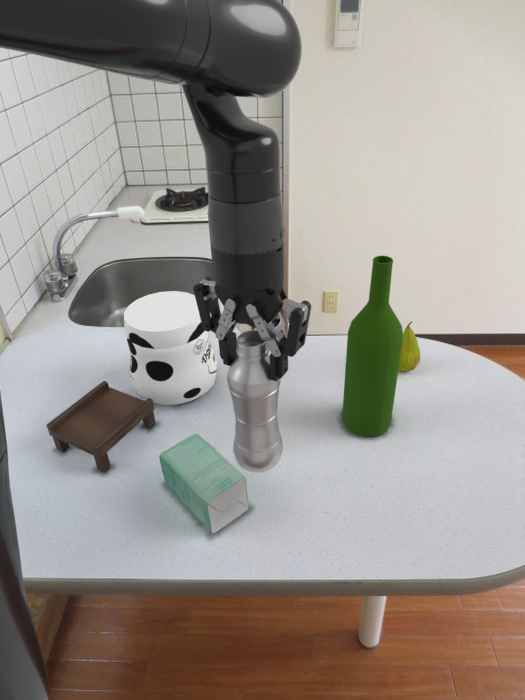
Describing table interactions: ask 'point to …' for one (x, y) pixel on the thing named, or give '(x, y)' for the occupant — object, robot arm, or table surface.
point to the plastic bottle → (254, 405)
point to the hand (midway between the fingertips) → (253, 369)
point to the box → (205, 482)
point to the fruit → (409, 351)
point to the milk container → (169, 348)
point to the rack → (100, 422)
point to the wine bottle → (372, 358)
